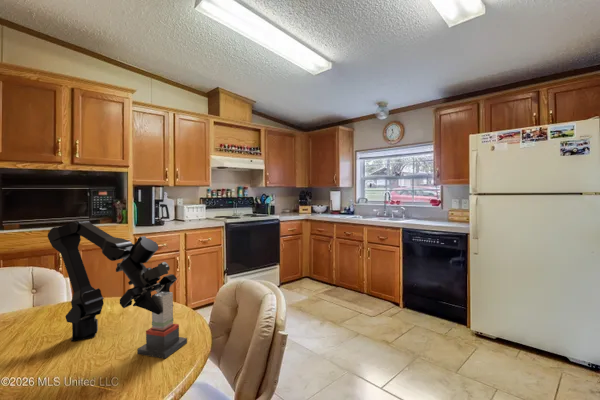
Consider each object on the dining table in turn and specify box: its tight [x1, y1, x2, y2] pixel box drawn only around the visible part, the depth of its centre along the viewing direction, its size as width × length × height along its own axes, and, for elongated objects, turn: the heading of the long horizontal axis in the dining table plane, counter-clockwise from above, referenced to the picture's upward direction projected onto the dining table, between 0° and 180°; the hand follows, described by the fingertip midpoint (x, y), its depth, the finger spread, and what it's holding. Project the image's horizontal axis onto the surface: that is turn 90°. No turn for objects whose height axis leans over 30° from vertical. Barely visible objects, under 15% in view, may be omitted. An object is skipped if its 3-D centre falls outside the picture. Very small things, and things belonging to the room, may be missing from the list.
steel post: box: [151, 291, 174, 332], centre depth 94 cm, size 4×4×12 cm
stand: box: [136, 323, 188, 359], centre depth 94 cm, size 10×10×6 cm
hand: (166, 310), depth 93 cm, fingers open, 5 cm apart
